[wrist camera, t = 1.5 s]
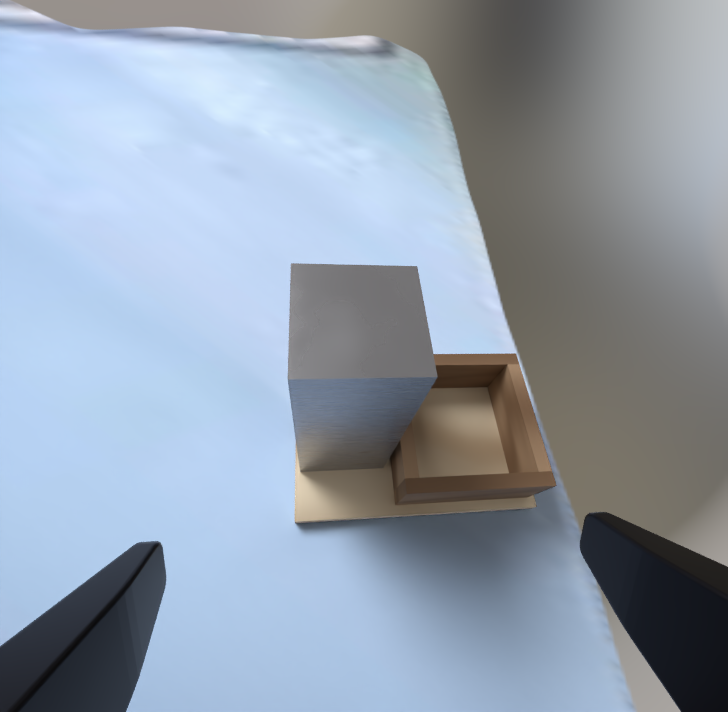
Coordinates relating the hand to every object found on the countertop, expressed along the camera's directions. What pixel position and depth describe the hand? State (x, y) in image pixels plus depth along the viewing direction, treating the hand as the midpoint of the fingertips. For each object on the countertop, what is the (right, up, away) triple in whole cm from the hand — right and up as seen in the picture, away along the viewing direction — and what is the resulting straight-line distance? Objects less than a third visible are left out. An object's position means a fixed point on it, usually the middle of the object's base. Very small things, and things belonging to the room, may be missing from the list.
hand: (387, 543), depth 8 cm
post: (-2, 0, +14) cm, 14 cm away
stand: (+2, -1, +15) cm, 15 cm away
